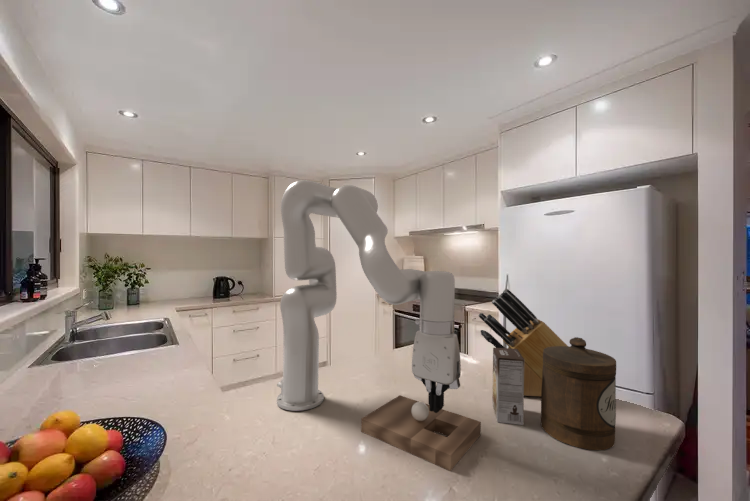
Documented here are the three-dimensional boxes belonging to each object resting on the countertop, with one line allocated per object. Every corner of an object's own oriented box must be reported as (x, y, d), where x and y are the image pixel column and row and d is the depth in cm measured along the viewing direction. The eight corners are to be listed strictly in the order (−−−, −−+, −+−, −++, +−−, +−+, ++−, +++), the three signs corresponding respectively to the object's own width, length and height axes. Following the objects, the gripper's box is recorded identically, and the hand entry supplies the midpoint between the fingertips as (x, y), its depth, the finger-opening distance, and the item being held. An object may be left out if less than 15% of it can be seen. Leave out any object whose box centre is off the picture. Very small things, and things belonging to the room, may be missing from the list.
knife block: (476, 380, 108) (477, 285, 108) (592, 387, 104) (593, 288, 104) (483, 395, 97) (484, 289, 97) (613, 403, 93) (615, 292, 93)
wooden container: (625, 457, 68) (627, 350, 68) (545, 442, 73) (546, 342, 73) (604, 423, 82) (605, 333, 82) (537, 412, 87) (538, 328, 87)
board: (361, 431, 76) (361, 418, 76) (399, 406, 89) (399, 395, 89) (450, 471, 63) (450, 455, 63) (480, 435, 76) (480, 421, 76)
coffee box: (491, 405, 90) (492, 346, 90) (516, 408, 89) (517, 348, 89) (496, 422, 81) (497, 357, 81) (524, 425, 80) (525, 359, 80)
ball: (420, 406, 73) (424, 425, 73) (430, 399, 76) (433, 417, 76) (406, 405, 76) (409, 423, 76) (415, 398, 79) (419, 415, 79)
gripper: (399, 325, 75) (398, 406, 75) (462, 335, 66) (461, 428, 66) (416, 319, 81) (415, 395, 81) (476, 329, 72) (475, 413, 72)
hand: (436, 409), depth 74 cm, fingers closed
